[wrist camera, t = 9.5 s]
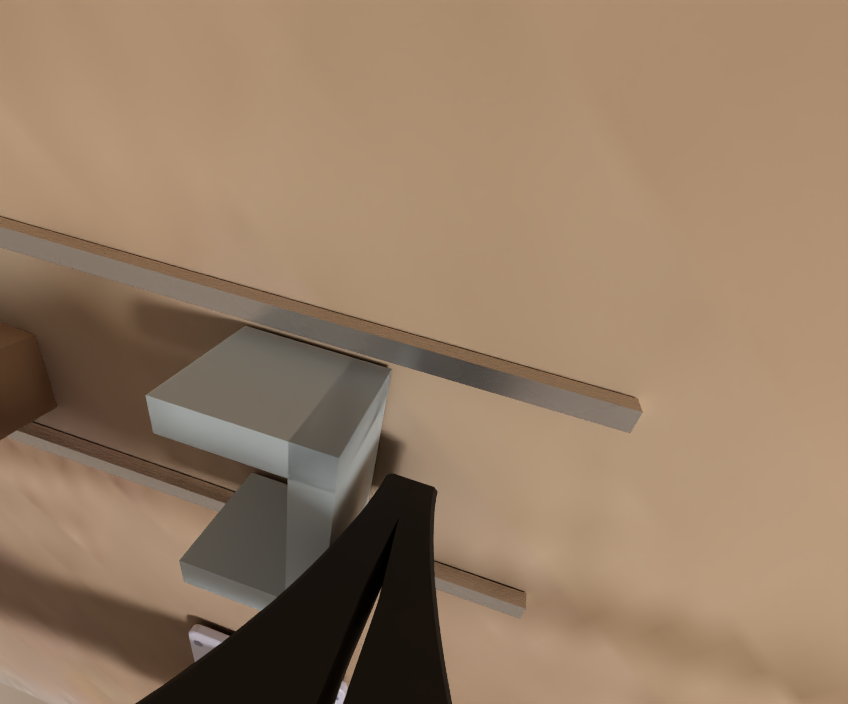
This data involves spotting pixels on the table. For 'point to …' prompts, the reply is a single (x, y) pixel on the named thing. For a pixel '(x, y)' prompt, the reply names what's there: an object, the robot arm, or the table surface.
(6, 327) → the brown bar
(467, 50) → the table surface
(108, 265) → the track
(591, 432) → the table surface
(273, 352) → the cap
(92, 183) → the table surface
